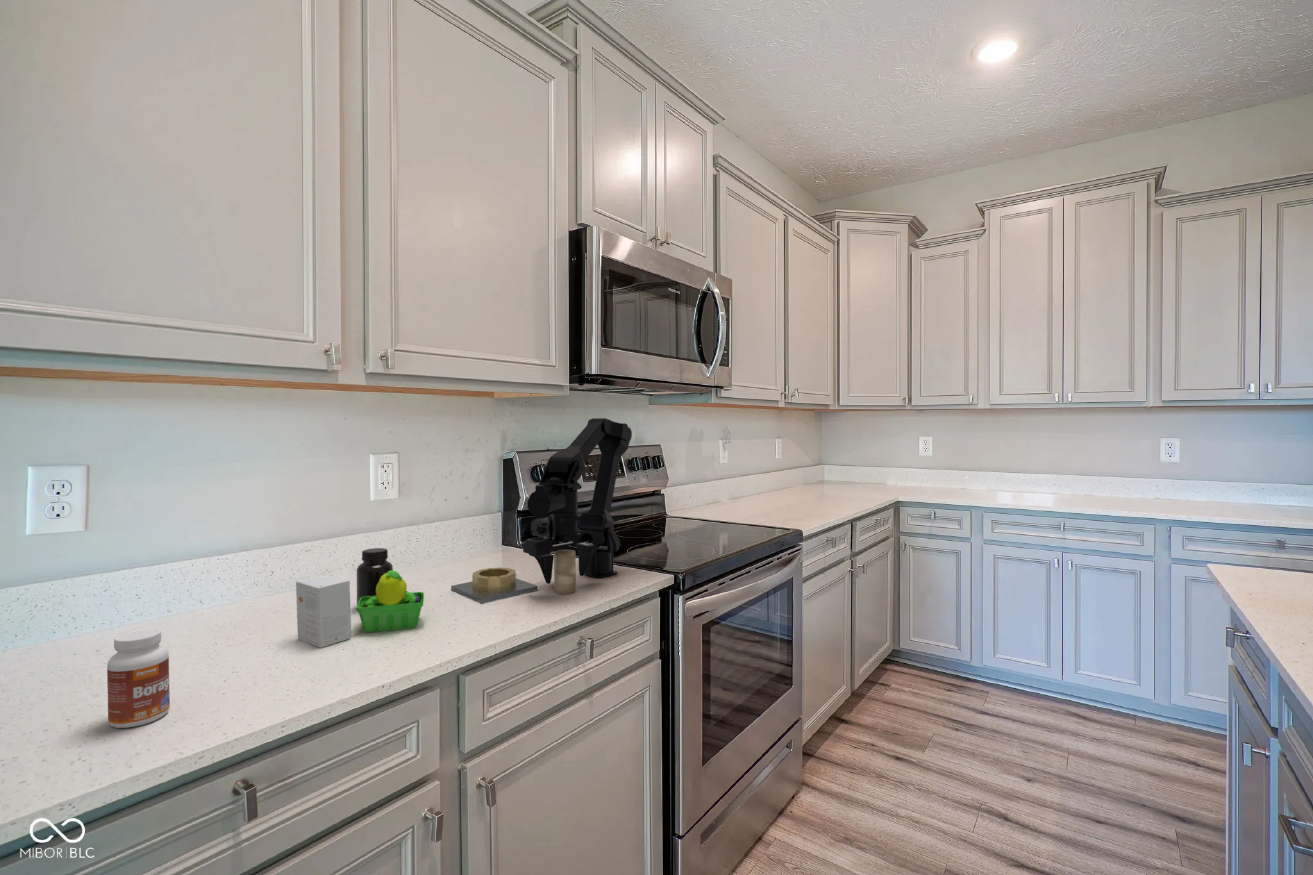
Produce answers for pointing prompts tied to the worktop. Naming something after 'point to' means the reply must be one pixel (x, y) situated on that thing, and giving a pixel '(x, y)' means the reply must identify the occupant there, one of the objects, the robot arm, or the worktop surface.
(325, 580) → the small box
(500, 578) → the ring collar
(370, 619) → the fruit basket
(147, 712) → the pill bottle
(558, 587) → the piston
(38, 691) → the worktop surface
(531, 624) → the worktop surface
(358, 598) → the supplement bottle
